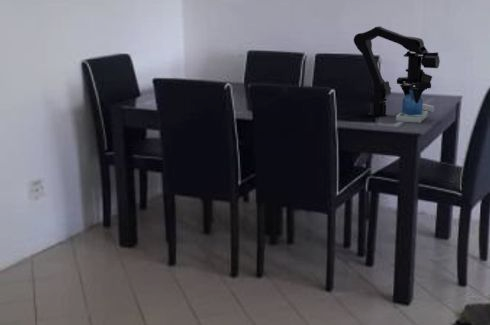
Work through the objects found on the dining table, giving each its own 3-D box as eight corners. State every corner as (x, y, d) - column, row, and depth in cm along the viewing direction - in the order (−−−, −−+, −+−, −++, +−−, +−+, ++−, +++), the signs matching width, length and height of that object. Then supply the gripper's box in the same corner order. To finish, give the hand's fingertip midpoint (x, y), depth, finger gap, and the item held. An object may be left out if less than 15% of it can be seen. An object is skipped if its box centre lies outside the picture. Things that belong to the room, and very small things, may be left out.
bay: (414, 113, 306) (414, 108, 305) (403, 110, 314) (403, 105, 313) (433, 111, 309) (434, 106, 308) (422, 108, 317) (422, 103, 317)
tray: (420, 122, 285) (420, 117, 285) (395, 120, 290) (396, 115, 289) (427, 116, 299) (427, 111, 299) (404, 114, 304) (404, 109, 303)
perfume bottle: (402, 112, 296) (403, 86, 293) (413, 111, 298) (415, 85, 295) (409, 115, 290) (411, 88, 287) (421, 114, 292) (423, 87, 289)
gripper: (442, 68, 283) (440, 104, 287) (417, 64, 300) (415, 97, 304) (420, 69, 279) (418, 105, 283) (396, 65, 296) (395, 99, 300)
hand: (412, 101), depth 293 cm, fingers closed on perfume bottle, 6 cm apart
